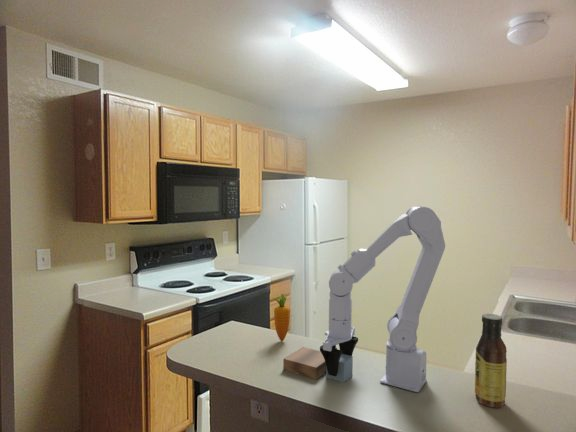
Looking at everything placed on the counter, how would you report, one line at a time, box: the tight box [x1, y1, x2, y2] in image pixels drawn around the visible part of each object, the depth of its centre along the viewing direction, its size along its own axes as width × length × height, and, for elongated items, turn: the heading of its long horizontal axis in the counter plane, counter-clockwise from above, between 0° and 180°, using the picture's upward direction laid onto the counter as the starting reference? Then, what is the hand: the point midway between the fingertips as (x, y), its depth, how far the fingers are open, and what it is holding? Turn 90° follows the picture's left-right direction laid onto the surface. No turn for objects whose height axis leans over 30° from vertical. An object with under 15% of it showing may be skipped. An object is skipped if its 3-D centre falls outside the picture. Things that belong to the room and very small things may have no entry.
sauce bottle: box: [474, 313, 508, 409], centre depth 90 cm, size 6×6×20 cm
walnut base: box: [283, 346, 326, 380], centre depth 108 cm, size 10×10×3 cm
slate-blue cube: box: [325, 354, 354, 383], centre depth 103 cm, size 5×5×5 cm
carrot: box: [273, 293, 291, 342], centre depth 127 cm, size 5×5×15 cm
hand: (339, 369), depth 103 cm, fingers open, 7 cm apart
